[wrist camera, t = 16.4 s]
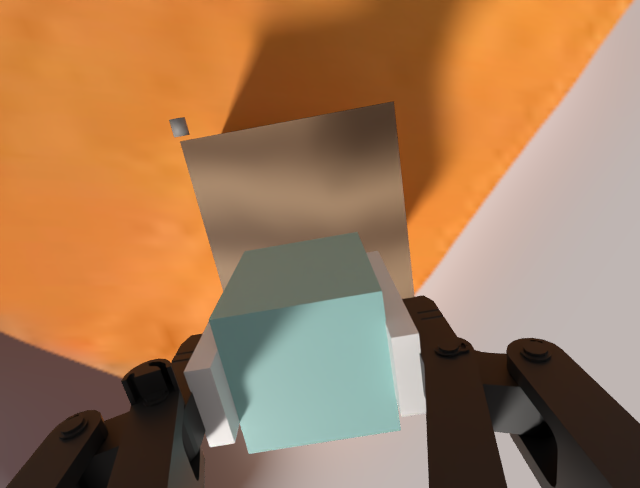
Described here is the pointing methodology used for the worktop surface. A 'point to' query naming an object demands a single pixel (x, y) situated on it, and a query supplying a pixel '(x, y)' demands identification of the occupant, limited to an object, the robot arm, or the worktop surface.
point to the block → (306, 344)
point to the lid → (304, 187)
